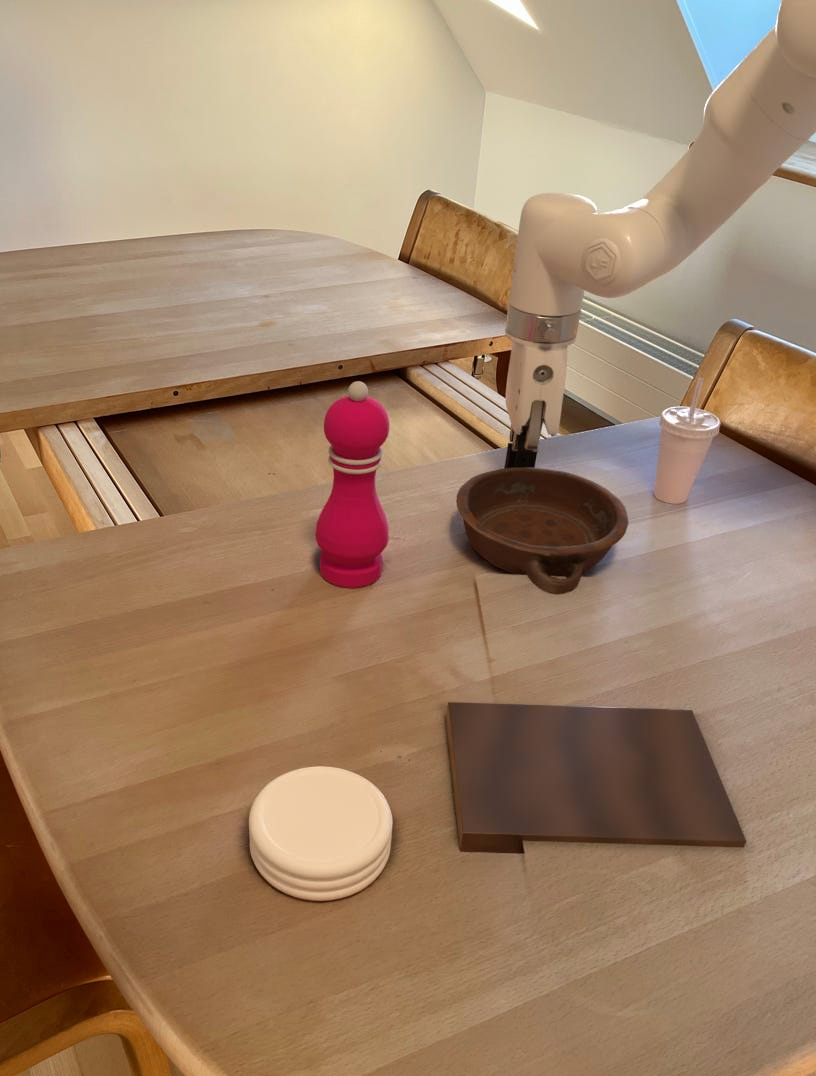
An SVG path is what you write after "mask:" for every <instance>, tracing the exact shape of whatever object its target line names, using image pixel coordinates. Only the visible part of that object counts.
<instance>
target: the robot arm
mask: <svg viewBox="0 0 816 1076" xmlns="http://www.w3.org/2000/svg"><path fill="white" fill-rule="evenodd" d="M815 134H816V0H781V1H780V3H779V6H778V12H777V15H776V23H775V25H774V26H773V27H772V28H771V29H770V30H769V32H767V34H765V36H764V37H763V38H762V39H761V40H760V41H759V42H758V43H757V44H756V45H755V46H754V47H753V48H752V49H751V51H749V53H748V54H747V55H745V57H744V58H743V59H742V60H741V61H740V62H739V63H738V65H737V66H736V67H735V68H734V69H733V70H732V71H731V72H730V73H729V74H728V75H727V76H726V77H725V79H723V81H721V82H720V83H719V85H717V87H715V89H714V90H713V91H712V92H711V94H710V95H709V97H708V99H707V101H706V103H705V106H704V109H703V122H702V126H701V129H700V131H699V133H698V135H697V137H696V138H695V140H694V141H693V143H692V144H691V146H690V147H689V149H688V150H686V152H685V153H684V154H683V155H682V157H681V158H680V159H678V161H677V162H676V163H675V164H674V165H673V166H672V167H671V169H670V170H669V171H668V172H667V173H666V174H665V175H664V176H663V177H662V178H661V179H660V180H659V181H658V182H657V183H656V184H655V185H654V186H653V187H652V188H651V189H650V190H649V191H648V193H646V194H645V195H644V196H643V197H642V198H640V199H639V200H638V201H636V202H633V203H631V204H627V205H626V206H623V207H621V208H618V209H614V210H610V211H605V212H602V213H598V210H597V206H596V205H595V203H594V202H592V200H590V199H588V198H587V197H584V196H582V195H578V194H573V193H566V192H545V193H544V192H543V193H539V194H535V195H533V196H531V197H529V198H528V199H527V200H526V201H525V202H524V204H523V206H522V208H521V212H520V218H519V223H518V225H519V226H518V232H517V239H516V247H515V255H514V262H513V269H512V277H511V284H510V292H509V301H508V305H507V306H508V307H507V313H506V321H505V329H504V335H505V337H506V338H507V339H509V340H510V341H511V342H512V345H511V351H510V356H509V363H508V371H507V376H506V387H505V407H506V410H507V415H508V417H509V420H510V430H509V442H508V443H507V447H506V453H505V460H504V466H503V467H504V468H503V469H505V468H520V467H531V468H536V462H537V456H538V452H539V451H538V450H539V445H540V439H541V434H542V429H543V425H544V426H545V429H546V433H547V435H548V436H549V435H550V436H551V437H555V436H557V434H558V433H559V431H560V423H561V416H562V410H563V401H564V394H565V386H566V375H567V367H568V347H569V346H571V345H573V344H574V343H575V342H576V340H577V335H578V329H579V323H580V319H581V314H582V313H581V312H582V306H583V301H584V295H585V292H587V293H589V294H592V295H594V296H597V297H601V298H605V299H615V298H620V297H624V296H626V295H629V294H631V293H632V292H634V291H637V290H638V289H640V288H643V287H644V286H645V285H647V284H649V283H651V282H652V281H654V280H656V279H658V278H660V277H662V276H664V275H666V274H668V273H669V272H671V271H672V270H674V269H676V268H677V267H678V266H679V265H680V264H681V263H683V262H684V261H685V260H686V259H687V258H688V257H690V255H692V254H693V253H694V252H695V251H696V250H697V249H698V248H699V247H700V246H701V245H702V244H704V243H705V242H706V241H707V240H708V239H709V238H711V236H712V235H713V234H714V233H715V232H717V230H718V229H720V227H721V226H723V225H724V224H725V223H726V222H727V221H728V220H729V219H730V218H731V217H732V216H734V214H735V213H736V212H737V211H738V210H739V209H740V208H741V207H742V206H743V205H744V204H745V203H746V202H747V201H748V200H749V199H750V198H751V197H752V195H754V193H756V192H757V191H758V190H759V189H760V188H762V186H764V185H765V184H766V183H767V182H768V181H769V180H770V178H771V177H772V176H773V175H774V174H775V172H776V171H778V169H780V167H781V166H782V165H783V164H785V163H786V162H787V161H788V160H789V159H790V158H791V157H792V156H793V155H794V154H795V153H796V152H797V151H798V150H799V149H800V148H801V147H803V145H804V144H806V143H807V142H808V141H809V140H810V139H811V138H812V137H813V136H814V135H815Z"/></svg>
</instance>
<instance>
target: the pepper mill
mask: <svg viewBox="0 0 816 1076" xmlns="http://www.w3.org/2000/svg"><path fill="white" fill-rule="evenodd" d="M347 394H348V395H345V396H342V397H341V398H338V399H336V400H335V401H334V402H333V403H332V404H331V405H330V406H329V408H328V409H327V411H326V413H325V416H324V420H323V421H324V422H323V432H324V436H325V439H326V440H327V442H328V443H329V444H330V446H329V447H328V454H329V455H328V458H327V459H328V464H329V465H330V466H331V468H332V472H333V480H332V488H331V491H330V495H329V497H328V499H327V501H326V503H325V504H324V506H323V507H322V509H321V512H320V514H319V516H318V519H317V521H316V527H315V535H314V536H315V542H316V544H317V546H318V548H319V549H320V550H321V552H320V555H319V573H320V575H321V576H322V577H323V579H324V580H325V581H327V582H328V583H330V584H332V585H334V586H337V587H340V588H347V589H348V588H349V589H356V588H363V587H367V586H370V585H372V584H374V583H375V582H376V581H378V580H379V579H380V577H381V575H382V570H383V555H382V553H383V552H384V551H385V549H386V548H387V546H388V544H389V539H390V531H389V523H388V520H387V516H386V513H385V510H384V508H383V506H382V504H381V501H380V499H379V496H378V493H377V489H376V488H377V487H376V475H377V470H378V469H379V468H380V467H381V466H382V464H383V459H382V456H383V454H384V452H383V448H382V446H383V445H384V443H385V442H386V441H387V439H388V436H389V433H390V419H389V414H388V412H387V409H386V408H385V407H384V406H383V405H382V403H380V402H379V401H378V400H376V399H375V398H373V397H370V396H369V395H368V394H369V389H368V387H367V385H366V384H365V383H364V382H362V381H360V380H359V381H358V380H357V381H354V382H352V383H351V384H350V385H349V386H348V391H347Z"/></svg>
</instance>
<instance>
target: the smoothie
mask: <svg viewBox="0 0 816 1076" xmlns="http://www.w3.org/2000/svg"><path fill="white" fill-rule="evenodd" d="M703 382H704V378H703V377H698V378H697V380H696V386H695V389H694V393H693V397H692V400H691V404H690V406H673V407H669V408H666V409H664V410H663V411H662V412H661V414H660V415H661V416H660V418H659V426H660V427H661V429H660V435H659V446H658V454H657V462H656V463H657V464H656V470H655V471H656V472H655V480H654V481H655V482H654V488H653V489H654V491H653V496H654V497H655V498H656V499H657V500H659V501H661V502H663V503H666V504H672V505H678V504H679V505H680V504H683V503H685V502H687V500H688V498H689V495H690V493H691V490H692V488H693V485H694V483H695V481H696V478H697V476H698V475H699V471H700V469H701V467H702V465H703V462H704V460H705V458H706V457H707V456H706V455H707V454H708V451H709V449H710V446H711V445H712V442H713V439H714V437H716V436H717V435H718V434H719V433H720V427H721V424H722V423H721V420H720V419H719V417H717V416H716V415H715V414H714V413H711V412H710V411H707V410H704V409H701V408H697V404H698V401H699V398H700V394H701V390H702V386H703V384H704V383H703Z"/></svg>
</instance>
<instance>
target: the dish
mask: <svg viewBox="0 0 816 1076" xmlns="http://www.w3.org/2000/svg"><path fill="white" fill-rule="evenodd" d="M455 502H456V508H457V511H458V513H459V515H460V517H461V518H462V522H463V527H464V532H465V535H466V538H467V541H468V542H469V544H470V546H471V547H472V548H473V549H474V551H475V552H476V553H478V554H479V555H480V556H481V557H482V558H483V559H484V560H486V561H488V562H489V563H490V564H492V565H493V566H495V567H497V568H499V569H501V570H504V571H506V572H509V573H511V574H513V575H517V576H528V577H529V579H530V580H531V581H532V582H533V584H534V585H536V587H538V588H539V589H540V590H542V591H543V592H545V593H548V594H551V595H563V594H567V593H570V592H572V591H573V590H575V589H576V588H577V587H578V585H579V584H580V581H581V578H582V574H585V573H586V572H588V571H590V570H591V569H593V568H594V567H596V566H597V565H598V564H599V563H600V562H601V561H602V560H603V559H604V558H605V557H606V555H607V554H608V552H609V551H610V550H611V549H612V547H613V546H614V545H616V544H617V543H619V541H621V539H622V538H624V536H625V534H626V533H627V529H628V526H629V517H628V512H627V509H626V506H625V505H624V503H623V502H622V500H621V499H620V498H619V497H617V496H616V495H615V494H613V493H612V492H611V491H610V490H608V489H607V488H606V487H604V486H602V485H600V484H599V483H597V482H595V481H593V480H591V479H588V478H586V477H583V476H581V475H578V474H575V473H571V472H567V471H562V470H556V469H549V468H543V467H542V468H541V467H535V468H531V467H520V468H505V469H504V468H499V469H495V470H491V471H486V472H485V471H484V472H482V473H479V474H477V475H476V474H475V475H473V476H472V477H470V478H469V479H468V480H467V481H465V482H464V483H463V484H462V485H461V486H460V487H459V489H458V491H457V493H456V501H455ZM558 577H566V578H558Z"/></svg>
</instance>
